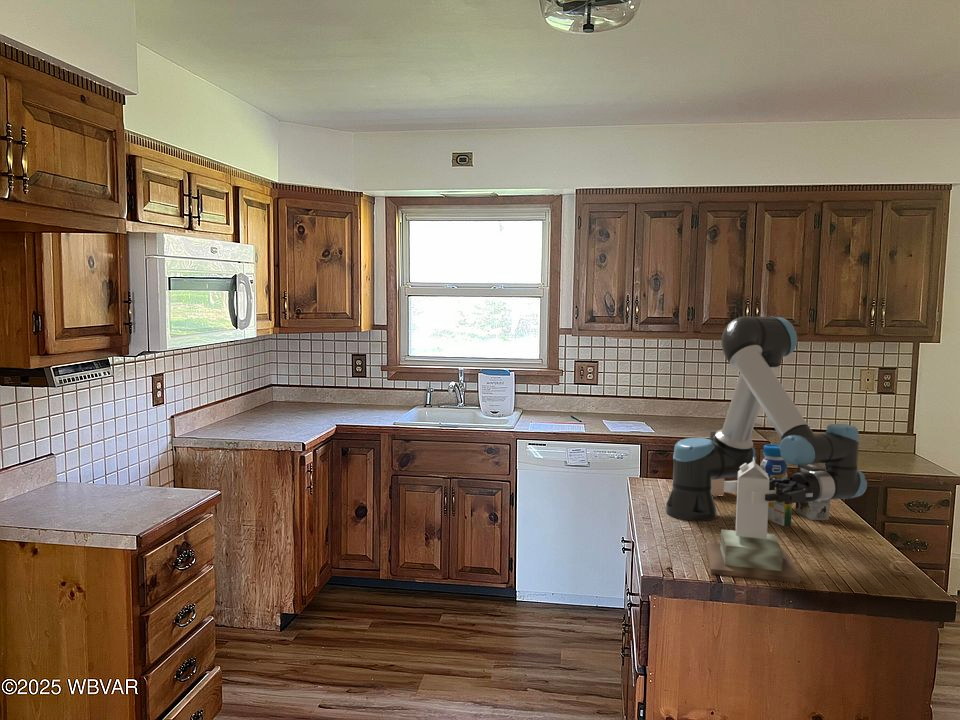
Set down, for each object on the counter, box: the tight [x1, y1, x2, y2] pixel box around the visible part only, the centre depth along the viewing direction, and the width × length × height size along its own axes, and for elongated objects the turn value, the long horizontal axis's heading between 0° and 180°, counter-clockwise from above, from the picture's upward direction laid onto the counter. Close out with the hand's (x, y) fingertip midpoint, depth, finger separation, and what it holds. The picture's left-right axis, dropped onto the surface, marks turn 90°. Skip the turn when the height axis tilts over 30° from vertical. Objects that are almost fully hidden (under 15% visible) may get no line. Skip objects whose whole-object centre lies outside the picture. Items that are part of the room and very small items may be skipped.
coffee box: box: [795, 463, 831, 521], centre depth 216 cm, size 9×6×16 cm
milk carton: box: [735, 457, 769, 539], centre depth 173 cm, size 7×7×19 cm
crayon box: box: [768, 488, 793, 527], centre depth 209 cm, size 7×3×12 cm, turn 20°
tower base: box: [704, 529, 801, 584], centre depth 174 cm, size 20×20×6 cm
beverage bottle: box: [759, 443, 788, 488], centre depth 227 cm, size 8×8×20 cm
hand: (738, 492), depth 172 cm, fingers closed on milk carton, 10 cm apart
